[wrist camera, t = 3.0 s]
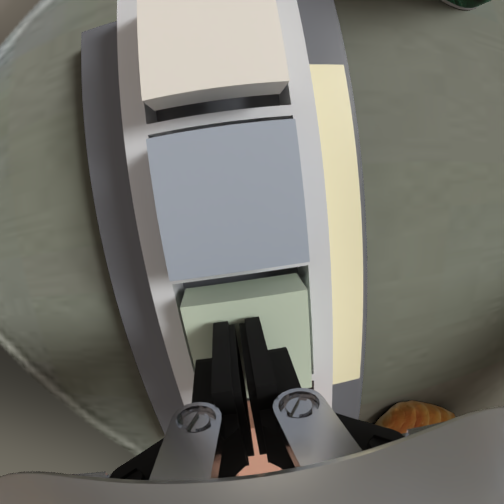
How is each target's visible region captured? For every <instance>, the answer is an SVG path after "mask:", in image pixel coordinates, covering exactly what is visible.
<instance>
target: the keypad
mask: <svg viewBox="0 0 504 504" xmlns="http://www.w3.org/2000/svg"><path fill="white" fill-rule="evenodd" d="M276 4H277V9H278V14H279V20H280V25H281V31H282V36H283V42H284V48H285V54H286V60H287V66H288V73H289V79H290V81H289V83H288V84H287V85H286V87H285V88H284V89H283V90H282V92H281V93H280V94H272V95H260V96H249V97H239V98H231V99H223V100H215V101H208V102H201V103H195V104H189V105H183V106H177V107H172V108H167V109H161V110H156V111H154V110H153V109H152V108H150V107H149V106H148V105H147V104H145V103H144V102H143V101H142V96H141V84H140V71H139V55H138V33H137V0H117V21H115V22H112V23H109V24H105V25H102V26H99V27H96V28H93V29H90V30H87V31H84V32H82V40H81V72H82V99H83V114H84V127H85V138H86V147H87V156H88V164H89V171H90V178H91V185H92V192H93V198H94V204H95V209H96V215H97V220H98V225H99V230H100V235H101V240H102V244H103V249H104V253H105V258H106V262H107V266H108V270H109V274H110V278H111V282H112V286H113V290H114V294H115V297H116V301H117V304H118V308H119V311H120V315H121V318H122V321H123V325H124V328H125V331H126V334H127V337H128V340H129V343H130V347H131V349H132V352H133V355H134V358H135V361H136V364H137V367H138V370H139V372H140V375H141V378H142V380H143V383H144V386H145V388H146V391H147V393H148V396H149V399H150V401H151V403H152V406H153V408H154V411H155V413H156V416H157V418H158V420H159V423H160V425H161V427H162V429H163V432H164V434H166V431H167V428H168V426H169V423H170V420H171V418H172V416H173V414H174V413H175V412H176V411H177V410H178V409H179V408H181V407H183V406H184V405H187V404H190V403H192V393H193V382H194V372H195V367H194V363H193V359H192V355H191V351H190V347H189V343H188V339H187V335H186V331H185V327H184V323H183V319H182V314H181V310H180V306H181V303H182V299H183V296H184V293H185V290H186V288H194V287H201V286H209V285H216V284H223V283H231V282H238V281H245V280H252V279H259V278H266V277H272V276H279V275H286V274H292V273H297V274H298V276H299V278H300V279H301V281H302V282H303V284H304V285H305V287H306V288H307V291H308V307H309V325H310V346H311V373H312V387H311V388H308V389H313V390H315V391H317V392H319V393H320V394H321V395H322V396H323V397H324V398H325V400H326V401H327V403H328V404H329V405H330V407H331V408H332V410H333V411H334V412H335V413H338V414H341V415H344V416H348V417H351V418H354V419H357V420H358V419H359V412H360V404H361V394H362V383H363V372H364V358H365V341H366V318H367V238H366V215H365V198H364V184H363V172H362V161H361V151H360V142H359V133H358V125H357V118H356V111H355V104H354V97H353V91H352V85H351V79H350V73H349V68H348V62H347V57H346V52H345V47H344V42H343V38H342V33H341V29H340V24H339V20H338V16H337V12H336V8H335V4H334V0H276ZM283 119H295V121H296V129H297V137H298V145H299V153H300V162H301V171H302V180H303V189H304V199H305V210H306V221H307V232H308V244H309V258H310V262H305V263H298V264H291V265H285V266H278V267H271V268H264V269H257V270H250V271H243V272H236V273H229V274H221V275H214V276H207V277H200V278H192V279H185V280H177V281H170V280H169V276H168V271H167V266H166V261H165V256H164V251H163V246H162V240H161V235H160V230H159V224H158V218H157V212H156V206H155V200H154V194H153V187H152V181H151V174H150V167H149V159H148V152H147V144H146V139H148V138H153V137H158V136H163V135H168V134H174V133H179V132H185V131H191V130H198V129H204V128H211V127H218V126H225V125H233V124H241V123H250V122H260V121H271V120H283ZM247 401H250V400H249V398H247Z"/></svg>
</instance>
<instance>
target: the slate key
mask: <svg viewBox="0 0 504 504" xmlns="http://www.w3.org/2000/svg"><path fill="white" fill-rule="evenodd" d="M146 144H147V152H148V159H149V167H150V174H151V181H152V187H153V194H154V200H155V206H156V212H157V218H158V224H159V230H160V235H161V240H162V246H163V251H164V256H165V261H166V266H167V271H168V276H169V280H170V281H177V280H185V279H192V278H200V277H207V276H214V275H221V274H229V273H236V272H243V271H250V270H257V269H264V268H271V267H278V266H285V265H291V264H298V263H305V262H310V258H309V244H308V232H307V221H306V210H305V199H304V189H303V180H302V171H301V162H300V153H299V145H298V137H297V129H296V121H295V119H283V120H271V121H260V122H250V123H241V124H233V125H225V126H218V127H211V128H204V129H198V130H191V131H185V132H179V133H174V134H168V135H163V136H158V137H153V138H148V139H146Z"/></svg>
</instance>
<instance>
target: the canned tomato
mask: <svg viewBox="0 0 504 504" xmlns="http://www.w3.org/2000/svg"><path fill="white" fill-rule="evenodd" d="M441 1H443V2H444V3H446V4H448V5H450V6H452V7H455V8H457V9H461V10H472V9H475V8H477V7H478V6H479V5H482V4H484V3H486V2H489V1H491V0H441Z"/></svg>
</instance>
